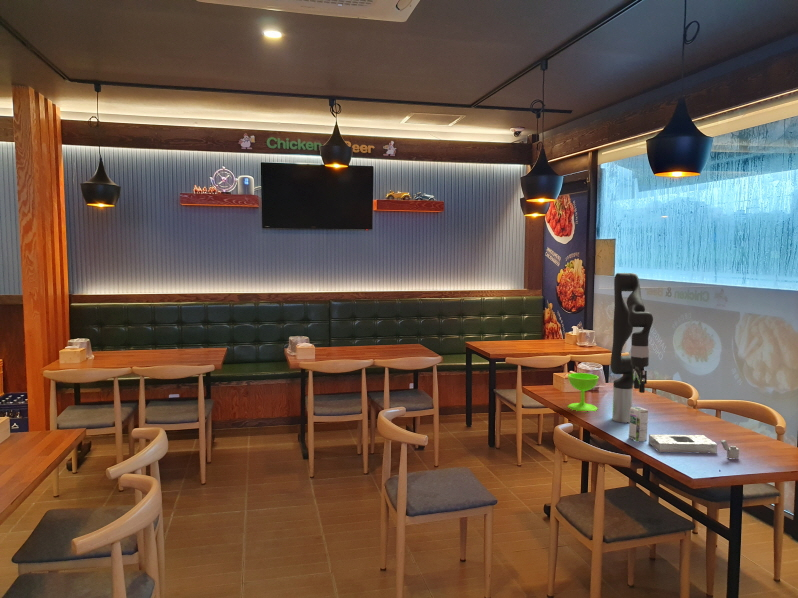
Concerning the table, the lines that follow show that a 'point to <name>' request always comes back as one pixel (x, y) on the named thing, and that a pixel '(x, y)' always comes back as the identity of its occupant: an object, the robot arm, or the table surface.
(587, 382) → the wineglass
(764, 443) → the table surface
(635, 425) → the syrup box
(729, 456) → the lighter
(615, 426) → the table surface
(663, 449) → the white flat block
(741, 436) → the table surface
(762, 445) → the table surface
